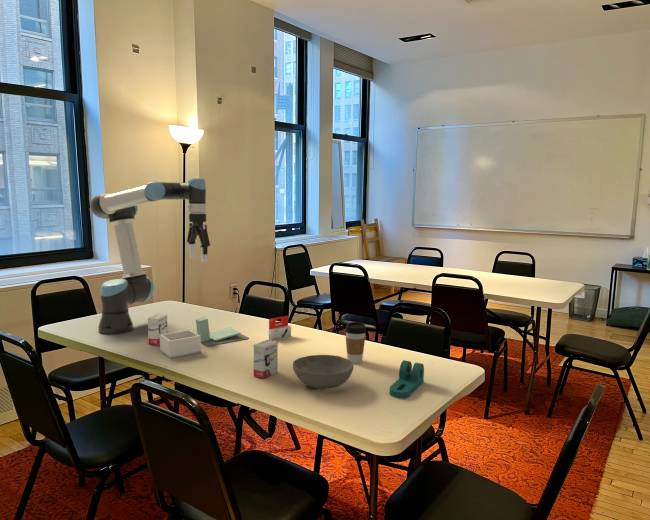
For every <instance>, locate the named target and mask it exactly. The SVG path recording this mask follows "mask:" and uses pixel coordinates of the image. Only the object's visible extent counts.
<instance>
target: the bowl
mask: <svg viewBox="0 0 650 520" xmlns="http://www.w3.org/2000/svg"><path fill="white" fill-rule="evenodd" d="M354 365H355V364H353V363H352V362H351V361H350V360H348V359H347V357H346V358H345V357H343V356H339V355H332V354H331V355H330V354H317V355H316V354H313V355H307V356H302V357H300V358H297V359H295V360H293V362H292V369H293V370H292V371H294V374H295V375H296V377H297V379H298V380H299V381H301V383H303V384H305V385H306V386H308V387H311V388H314V389H321V390H325V389H326V390H327V389H333V388H337V387H340V386H341V385H343V384H344V383H346V382H347V381H348V380H349V379H350V377H351V375H352V373H353V371H354V367H355V366H354Z"/></svg>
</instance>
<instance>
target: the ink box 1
mask: <svg viewBox="0 0 650 520" xmlns="http://www.w3.org/2000/svg"><path fill="white" fill-rule="evenodd" d="M168 323H169V322H168V314H165V313H164V314H163V313H156V314H153V315H152V316H151V315H150V316H148V317H147V331H148V333H147V335H148V338H147V339H148V340H147V341H148V342H147V343H148V345H152V346H153V345H154V346H155V345H156V346H160V334H166V333H169V330H168V329H169V328H168V327H169V326H168Z"/></svg>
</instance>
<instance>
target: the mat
mask: <svg viewBox="0 0 650 520" xmlns="http://www.w3.org/2000/svg"><path fill="white" fill-rule="evenodd" d="M249 339H250V337H249V336H247V335H244V334H243V333H241V334H238V335H236V336H231V337H228V338H224V339H221V340H218V341H214V340H212V339H211V340H208V341H204V342H201V344H202V345H205V346H206V347H211V346H212V347H214V346H219V345H224V344H228V343H234V342H238V341H239V342H240V341H244V340H249Z"/></svg>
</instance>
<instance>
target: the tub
mask: <svg viewBox="0 0 650 520" xmlns="http://www.w3.org/2000/svg"><path fill="white" fill-rule="evenodd" d="M201 344H202V343H201V341H200V335H198V334H197V332H194V330H191V329H187V330H180V331H174V332H168V333H166V334H160V344H159V349H160V350H159V351H160V353H162V354H163V355H165V356H166V357H168V358H169V359H172V358H178V357H184V356H188V355H194V354H199V353H201V349H202V348H201V346H202V345H201Z"/></svg>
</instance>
